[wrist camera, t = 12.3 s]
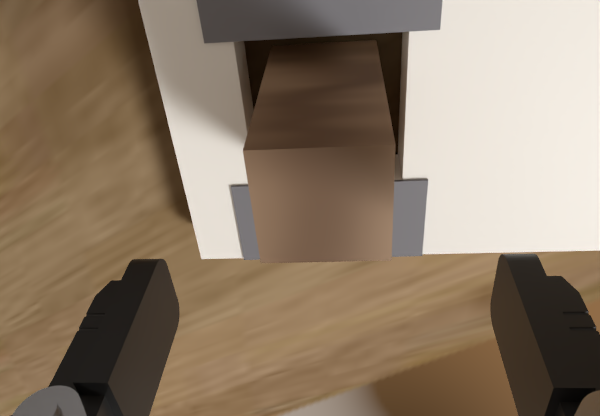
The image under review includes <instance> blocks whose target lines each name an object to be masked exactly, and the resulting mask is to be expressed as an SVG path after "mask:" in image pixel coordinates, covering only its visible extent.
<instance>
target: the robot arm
mask: <svg viewBox="0 0 600 416" xmlns="http://www.w3.org/2000/svg"><path fill="white" fill-rule="evenodd" d="M86 314H87V316H86V317H84V319H83V321H82V323H81V325H80V327H79V331H77V333H76V335H75V337H74V339H73V341H72V343H71V344H70V346H69V348H68V350H67V352H66V354H65V356H64V358H63V360H62V362H61V364H60V366H59V368H58V370H57V372H56V374H55V376H54V378H53V380H52V381H51V383H50V385H49V387H47V388H44V389H42V390H39V391H37V392H36V393H34V394H32V395H31V396H29V397H28V398H27V399H25V400H24V401H23V402H22V403H21V404H20V405H19V406H18V408H17V409H16V410H15V412H14V413H13V415H11V416H149V414H150V411H151V408H152V405H153V401H154V398H155V395H156V392H157V389H158V386H159V383H160V380H161V377H162V374H163V370H164V367H165V364H166V361H167V358H168V355H169V352H170V349H171V346H172V343H173V339H174V336H175V333H176V330H177V327H178V323H179V303H178V299H177V296H176V293H175V289H174V286H173V283H172V279H171V276H170V273H169V270H168V266H167V264H166V262H165V260H164V259H134V260H132V261H131V262H130V263H129V265H128V267H127V269H126V271H125V273H124V275H123V277H122V280H119V281H110V282H109V283H108V284H107V285H106V286H105V287H104V288H103V289H102V290H101V291H100V292H99V293H98V294H97V295H96V296H95V298H94V300H93V302H92V304H91V306H90V307H89V309H88V311H87V313H86ZM491 320H492V326H493V329H494V333H495V336H496V340H497V343H498V346H499V350H500V353H501V357H502V360H503V363H504V367H505V370H506V374H507V377H508V381H509V384H510V388H511V391H512V394H513V398H514V401H515V405H516V408H517V412H518V415H519V416H600V334H599V332H598V331H596V326H595V324H594V322H593V320H592V318H591V316H590V315H589V314H588V310H587V308H586V306H585V304H584V302H583V299H582V297H581V295H580V293H579V292H578V291H577V290H576V289H575V288H574V287H573V286H571V285H570V284H569V283H568V282H567V281H566V280H565V279H564V278H563V277H562V276H546V273H545V271H544V269H543V267H542V264H541V262H540V260H539V258H538V256H537V255H536V254H502V255H500V257H499V260H498V265H497V271H496V276H495V281H494V287H493V292H492V297H491Z"/></svg>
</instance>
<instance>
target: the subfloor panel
mask: <svg viewBox="0 0 600 416" xmlns="http://www.w3.org/2000/svg"><path fill="white" fill-rule="evenodd" d="M138 3H139V7H140V11H141V15H142V19H143V23H144V27H145V31H146V35H147V39H148V43H149V47H150V51H151V55H152V60H153V64H154V68H155V72H156V76H157V80H158V84H159V88H160V92H161V96H162V100H163V104H164V108H165V112H166V116H167V120H168V125H169V129H170V133H171V137H172V141H173V145H174V149H175V153H176V157H177V161H178V165H179V169H180V173H181V177H182V181H183V186H184V190H185V194H186V198H187V202H188V206H189V210H190V214H191V218H192V222H193V226H194V230H195V234H196V238H197V242H198V246H199V251H200V255H201V259H221V258H244V260H256V259H260V256H259V250H258V243H257V237H256V231H255V224H254V218H253V212H252V206H251V199H250V193H249V187H248V181H247V174H246V168H245V162H244V155H243V148H244V144H245V141H246V137H247V133H248V130H249V126H250V122H251V119H252V115H253V112H254V109H253V102H252V95H251V88H250V80H249V73H248V66H247V59H246V52H245V44H244V41H255V40H272V39H289V38H307V37H324V36H342V35H359V34H376V33H394V32H402V55H401V82H400V108H399V134H398V154H395V176H394V204H393V233H392V257H398V256H422V254H454V253H500V252H546V251H593V250H600V0H138Z"/></svg>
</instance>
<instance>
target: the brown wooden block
mask: <svg viewBox="0 0 600 416" xmlns="http://www.w3.org/2000/svg"><path fill="white" fill-rule="evenodd" d="M395 147H396V144H395V139H394V133H393V128H392V123H391V117H390V112H389V106H388V101H387V95H386V90H385V85H384V79H383V74H382V68H381V63H380V57H379V52H378V47H377V41H376V40H364V41H347V42H329V43H311V44H293V45H276V46H271V50H270V54H269V57H268V61H267V64H266V68H265V72H264V75H263V79H262V83H261V86H260V90H259V93H258V97H257V101H256V104H255V108H254V112H253V115H252V119H251V122H250V126H249V130H248V133H247V137H246V141H245V144H244V148H243V155H244V162H245V168H246V174H247V181H248V187H249V193H250V199H251V206H252V212H253V218H254V224H255V231H256V237H257V243H258V250H259V256H260V262H261V263H291V262H340V261H389V260H392V233H393V204H394V176H395Z"/></svg>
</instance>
